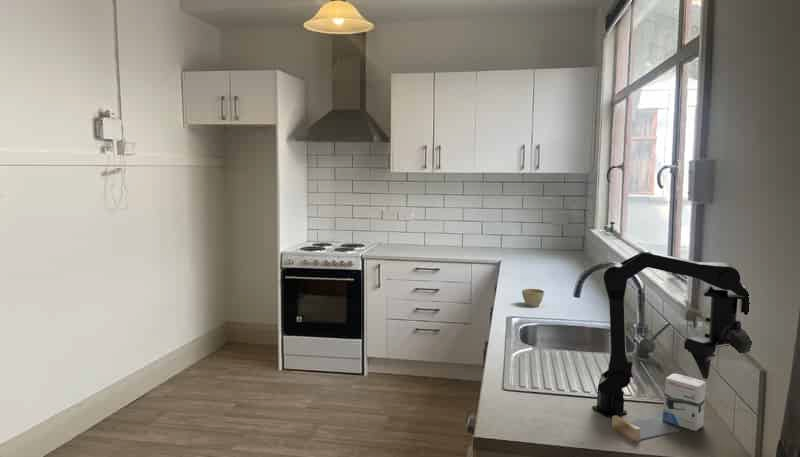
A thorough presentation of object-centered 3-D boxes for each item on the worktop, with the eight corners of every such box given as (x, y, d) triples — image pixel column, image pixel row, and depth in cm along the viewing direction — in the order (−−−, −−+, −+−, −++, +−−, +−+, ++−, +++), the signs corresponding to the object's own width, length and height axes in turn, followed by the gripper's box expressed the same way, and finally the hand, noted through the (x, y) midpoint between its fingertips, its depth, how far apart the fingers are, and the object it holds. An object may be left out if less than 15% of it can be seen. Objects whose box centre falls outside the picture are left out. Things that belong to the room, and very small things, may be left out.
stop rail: (611, 427, 150) (612, 416, 149) (615, 426, 150) (616, 415, 150) (636, 441, 142) (636, 429, 142) (639, 440, 143) (640, 428, 142)
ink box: (661, 421, 154) (664, 377, 152) (669, 415, 157) (672, 372, 156) (696, 432, 148) (699, 386, 146) (703, 425, 151) (706, 381, 150)
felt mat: (615, 426, 150) (615, 425, 150) (653, 418, 155) (654, 417, 155) (639, 440, 143) (640, 439, 143) (679, 431, 148) (679, 430, 148)
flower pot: (530, 302, 284) (531, 287, 283) (548, 306, 276) (548, 291, 275) (517, 305, 277) (517, 290, 277) (534, 309, 270) (535, 294, 269)
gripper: (723, 326, 136) (719, 393, 137) (781, 319, 142) (776, 382, 144) (684, 315, 146) (680, 376, 148) (739, 309, 153) (735, 368, 154)
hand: (719, 376), depth 148 cm, fingers open, 9 cm apart
